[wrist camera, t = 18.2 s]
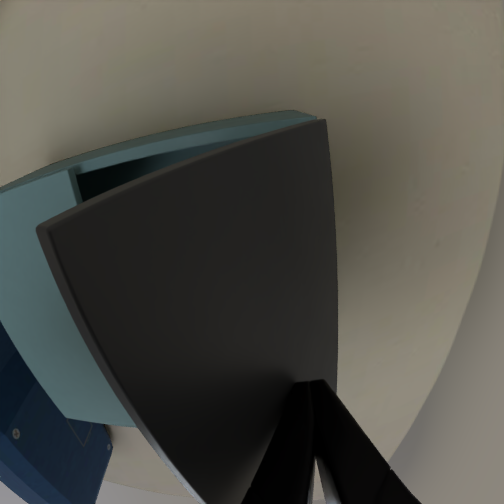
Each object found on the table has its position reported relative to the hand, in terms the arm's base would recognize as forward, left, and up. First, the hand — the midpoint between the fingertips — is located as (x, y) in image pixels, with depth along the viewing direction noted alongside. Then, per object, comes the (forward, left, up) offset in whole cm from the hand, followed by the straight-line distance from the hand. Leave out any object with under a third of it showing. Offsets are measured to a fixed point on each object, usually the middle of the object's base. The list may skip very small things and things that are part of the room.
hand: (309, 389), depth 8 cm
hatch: (+1, 0, 0) cm, 1 cm away
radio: (+23, +13, -11) cm, 29 cm away
